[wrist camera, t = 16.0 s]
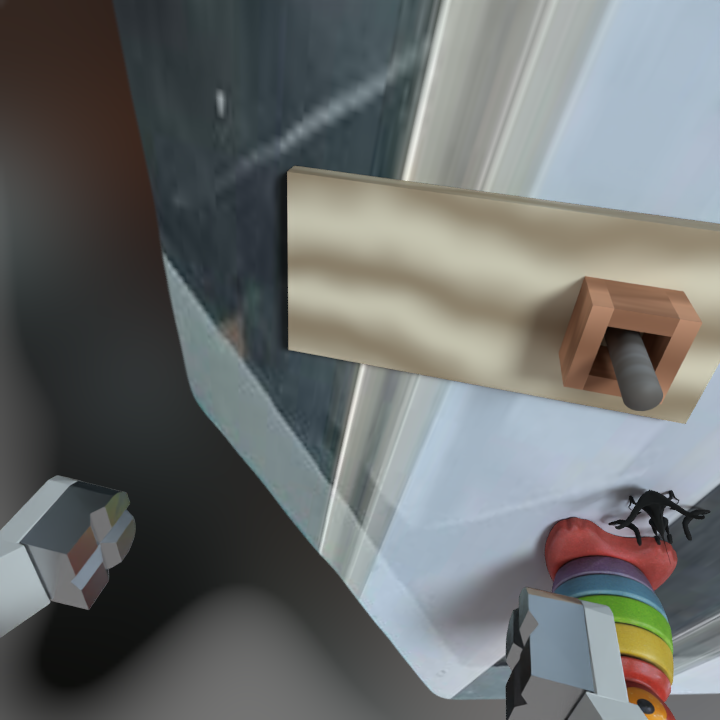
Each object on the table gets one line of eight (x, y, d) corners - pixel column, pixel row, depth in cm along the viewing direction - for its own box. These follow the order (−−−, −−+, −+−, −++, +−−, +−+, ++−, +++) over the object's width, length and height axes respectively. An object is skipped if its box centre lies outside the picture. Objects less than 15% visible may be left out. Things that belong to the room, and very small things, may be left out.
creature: (709, 515, 47) (700, 466, 42) (731, 577, 43) (724, 530, 38) (611, 527, 50) (593, 482, 45) (625, 586, 46) (606, 543, 41)
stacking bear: (684, 543, 47) (762, 783, 33) (634, 605, 53) (682, 832, 39) (560, 510, 48) (583, 729, 34) (525, 575, 54) (532, 784, 40)
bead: (584, 276, 35) (593, 305, 31) (683, 291, 34) (702, 322, 31) (558, 353, 38) (563, 386, 35) (647, 368, 37) (661, 404, 34)
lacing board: (294, 165, 36) (237, 211, 29) (776, 231, 32) (861, 306, 24) (294, 340, 44) (250, 412, 37) (680, 410, 40) (721, 509, 32)
